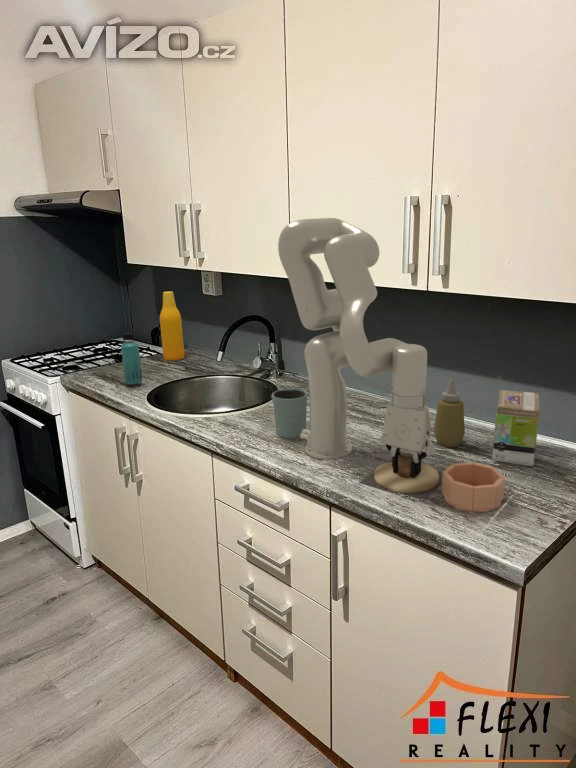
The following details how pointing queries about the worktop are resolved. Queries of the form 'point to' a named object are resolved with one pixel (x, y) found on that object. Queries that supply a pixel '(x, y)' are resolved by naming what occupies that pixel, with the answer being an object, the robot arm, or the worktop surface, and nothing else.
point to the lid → (406, 477)
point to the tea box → (516, 427)
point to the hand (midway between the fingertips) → (406, 472)
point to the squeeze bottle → (449, 418)
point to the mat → (372, 483)
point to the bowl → (473, 486)
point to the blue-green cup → (290, 412)
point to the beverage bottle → (131, 360)
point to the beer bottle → (171, 329)
